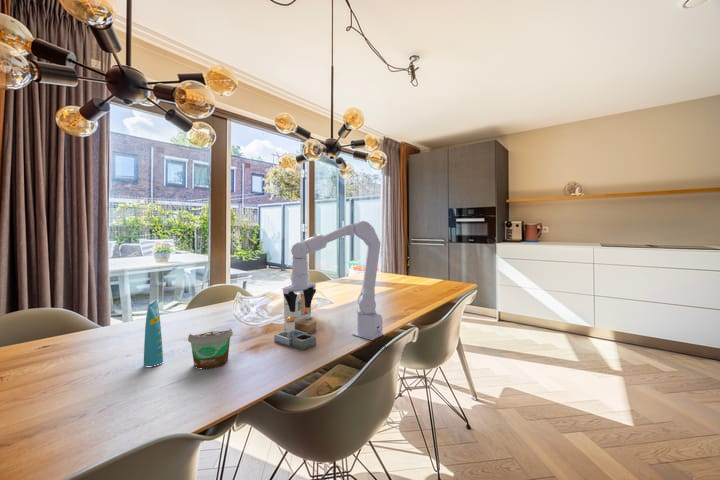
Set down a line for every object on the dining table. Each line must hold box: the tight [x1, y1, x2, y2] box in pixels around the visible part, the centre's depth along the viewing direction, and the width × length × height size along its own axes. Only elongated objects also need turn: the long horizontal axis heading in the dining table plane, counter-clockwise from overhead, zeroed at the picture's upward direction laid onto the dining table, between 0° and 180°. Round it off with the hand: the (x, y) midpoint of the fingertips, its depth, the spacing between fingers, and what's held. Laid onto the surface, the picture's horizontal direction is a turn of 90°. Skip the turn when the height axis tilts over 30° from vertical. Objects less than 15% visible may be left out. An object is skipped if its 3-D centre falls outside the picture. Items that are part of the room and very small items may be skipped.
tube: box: [143, 298, 164, 367], centre depth 90 cm, size 7×5×19 cm, turn 26°
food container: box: [187, 326, 234, 370], centre depth 89 cm, size 12×6×10 cm, turn 117°
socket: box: [290, 333, 317, 351], centre depth 105 cm, size 6×6×3 cm
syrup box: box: [283, 292, 301, 331], centre depth 124 cm, size 6×6×14 cm
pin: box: [285, 316, 295, 339], centre depth 110 cm, size 3×3×8 cm
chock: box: [295, 319, 317, 335], centre depth 120 cm, size 7×6×4 cm
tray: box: [273, 330, 307, 347], centre depth 110 cm, size 8×8×2 cm
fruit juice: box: [290, 270, 312, 320], centre depth 139 cm, size 9×9×28 cm
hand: (300, 309), depth 114 cm, fingers open, 7 cm apart
